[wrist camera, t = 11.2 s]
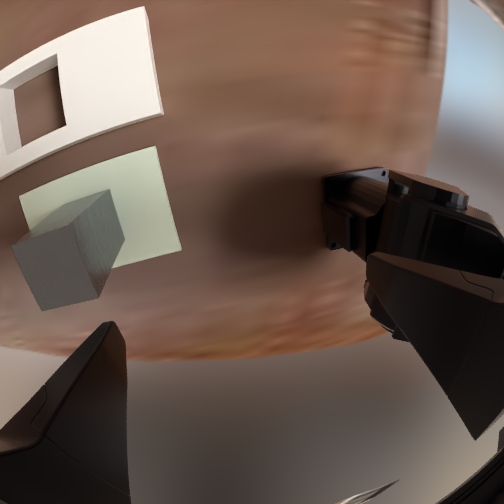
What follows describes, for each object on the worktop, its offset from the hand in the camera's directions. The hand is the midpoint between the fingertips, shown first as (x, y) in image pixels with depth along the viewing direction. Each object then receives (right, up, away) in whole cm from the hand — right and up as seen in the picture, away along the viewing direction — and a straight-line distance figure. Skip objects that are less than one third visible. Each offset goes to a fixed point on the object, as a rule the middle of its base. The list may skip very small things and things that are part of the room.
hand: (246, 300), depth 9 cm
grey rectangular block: (-11, +4, +10) cm, 15 cm away
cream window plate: (-14, +13, +5) cm, 20 cm away
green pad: (-12, +4, +10) cm, 16 cm away
